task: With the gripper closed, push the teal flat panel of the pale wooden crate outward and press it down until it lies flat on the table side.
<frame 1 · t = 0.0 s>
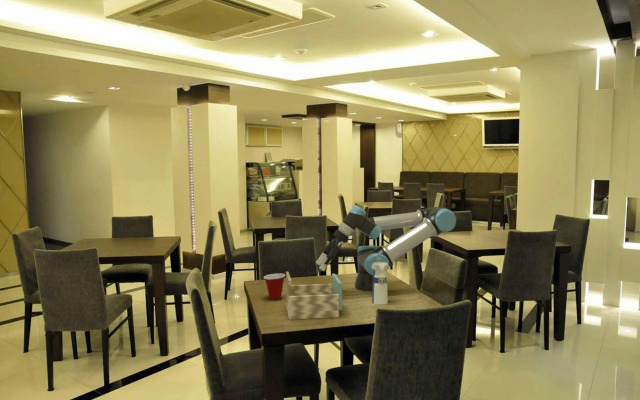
hand: (319, 266, 240), 15 cm above the table, tool tilted 35°, fingers open, 13 cm apart
blue-banded white tube: (380, 302, 230), on the table
crate: (311, 311, 216), on the table
plastic cup: (274, 298, 238), on the table
teal flat panel: (337, 291, 217), point 9 cm above the table, hinge at 0.0°
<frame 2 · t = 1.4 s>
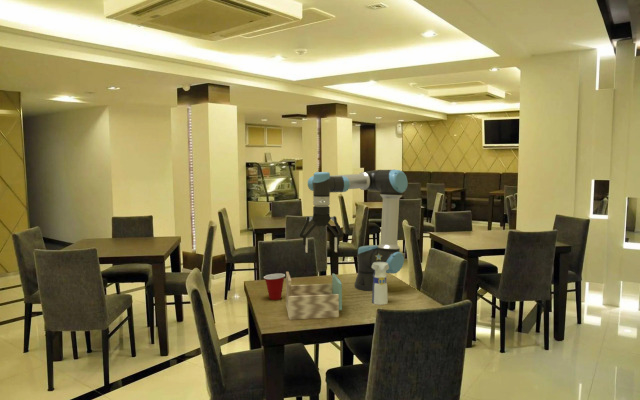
hand: (321, 252, 215), 27 cm above the table, tool pointing down, fingers open, 13 cm apart
nothing on the table moved.
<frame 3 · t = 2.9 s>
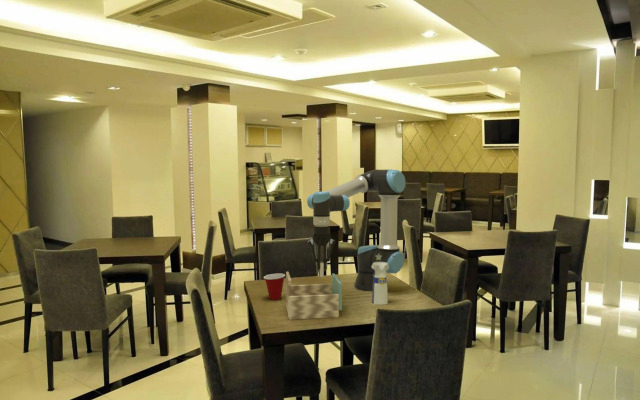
hand: (321, 276, 215), 16 cm above the table, tool pointing down, fingers closed
nothing on the table moved.
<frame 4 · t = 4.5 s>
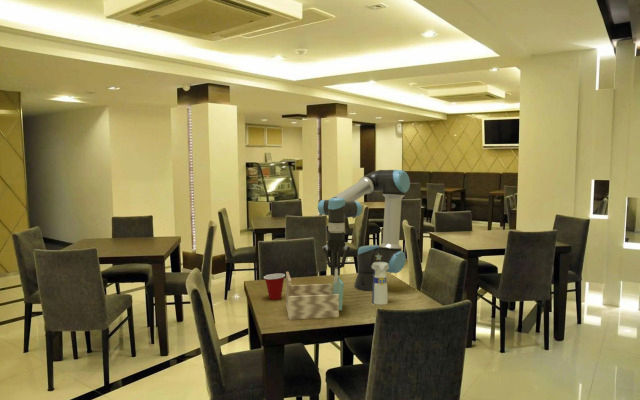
hand: (335, 282, 217), 13 cm above the table, tool pointing down, fingers closed
teal flat panel: (338, 291, 217), point 9 cm above the table, hinge at 4.4°, touching gripper
everything else where it was.
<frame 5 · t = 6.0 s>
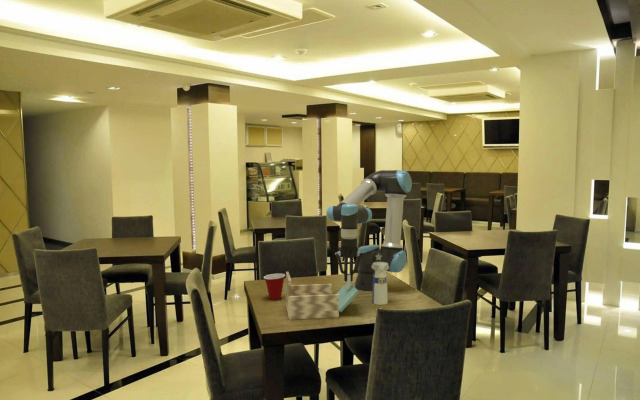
hand: (348, 288, 217), 10 cm above the table, tool pointing down, fingers closed
teal flat panel: (345, 296, 218), point 6 cm above the table, hinge at 43.5°, touching gripper
everything else where it was.
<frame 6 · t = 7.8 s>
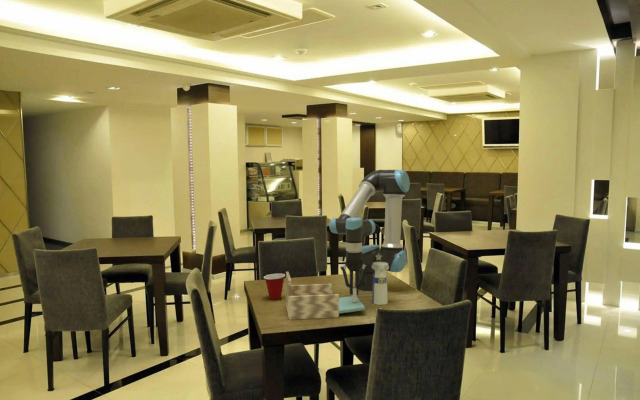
hand: (354, 301, 218), 4 cm above the table, tool pointing down, fingers closed
teal flat panel: (347, 304, 218), point 2 cm above the table, hinge at 85.0°, touching gripper
everything else where it was.
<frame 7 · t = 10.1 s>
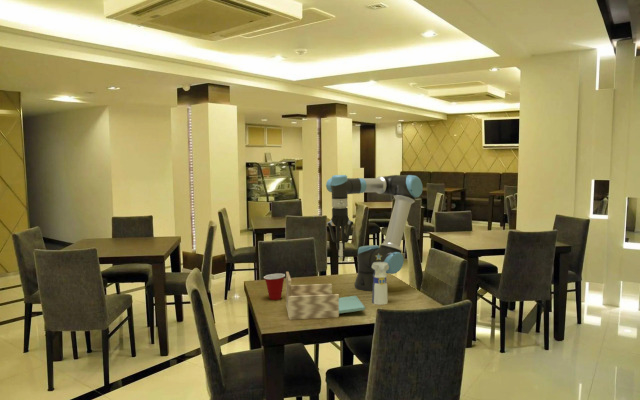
hand: (340, 256, 226), 23 cm above the table, tool pointing down, fingers closed
teal flat panel: (347, 304, 218), point 2 cm above the table, hinge at 85.0°
everything else where it was.
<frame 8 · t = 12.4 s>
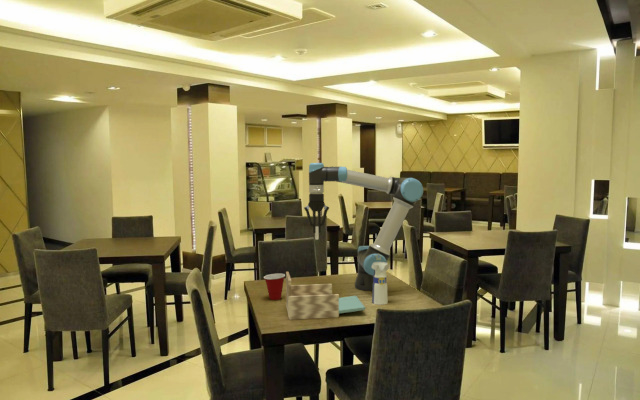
hand: (316, 239, 240), 29 cm above the table, tool pointing down, fingers closed
nothing on the table moved.
at the end: teal flat panel at +85° (first picture: +0°) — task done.
